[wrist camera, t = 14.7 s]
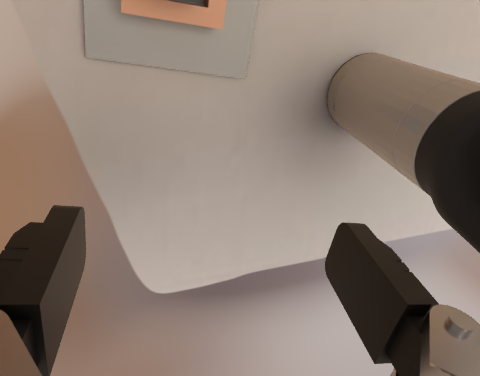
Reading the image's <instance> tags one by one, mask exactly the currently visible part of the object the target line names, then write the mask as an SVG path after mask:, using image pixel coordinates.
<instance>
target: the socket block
mask: <svg viewBox="0 0 480 376" xmlns="http://www.w3.org/2000/svg"><path fill="white" fill-rule="evenodd" d="M258 2H259V0H83V4H84V28H85V52H86V58H93V59H100V60H108V61H115V62H122V63H130V64H137V65H144V66H152V67H159V68H166V69H173V70H181V71H188V72H195V73H203V74H210V75H217V76H225V77H232V78H239V79H246V74H247V68H248V62H249V56H250V50H251V44H252V38H253V32H254V26H255V20H256V14H257V8H258Z"/></svg>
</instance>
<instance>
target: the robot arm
mask: <svg viewBox="0 0 480 376" xmlns="http://www.w3.org/2000/svg"><path fill="white" fill-rule="evenodd" d="M327 100H328V109H329V112H330V114H331V116H332V118H333V119H334V120H335V122H336V123H337V124H339V125H340V126H341V127H342V128H344V129H345V130H346V131H348V132H349V133H350V134H351V135H352V136H354V137H355V138H356V139H358V140H359V141H360V142H361V143H363V144H364V145H365V146H367V147H368V148H369V149H370V150H372V151H373V152H374V153H376V154H377V155H378V156H379V157H381V158H382V159H383V160H385V161H386V162H387V163H388V164H390V165H391V166H392V167H394V168H395V169H396V170H397V171H399V172H400V173H401V174H403V175H404V176H405V177H407V178H408V179H409V180H410V181H412V182H413V183H414V184H416V185H417V186H418V187H419V188H421V189H422V190H423V191H425V192H426V193H427V194H428V195H430V196H431V198H432V200H433V203H434V205H435V207H436V209H437V211H438V213H439V214H440V215H441V217H442V218H443V219H444V220H445V221H446V222H447V223H448V224H449V225H450V226H451V227H452V228H453V229H454V230H456V231H457V232H458V233H459V234H460V235H461V236H462V237H463V238H464V239H465V240H466V241H467V242H469V243H470V244H471V245H472V246H473V247H474V248H475V249H476V250H477V251H478V252H479V253H480V83H477V82H473V81H470V80H466V79H462V78H459V77H456V76H452V75H449V74H445V73H442V72H439V71H435V70H432V69H428V68H425V67H422V66H418V65H415V64H412V63H408V62H405V61H401V60H399V59H395V58H392V57H388V56H385V55H381V54H376V53H366V54H362V55H359V56H356V57H354V58H353V59H351V60H349V61H348V62H347V63H345V64H344V65H343V66H342V67H341V68H340V69H339V71H338V72H337V73H336V75H335V76H334V78H333V80H332V82H331V85H330V87H329V91H328V97H327ZM85 257H86V241H85V213H84V208H83V207H75V206H58V205H54V206H53V207H52V208H51V210H50V212H49V214H48V215H47V217H46V219H45V221H44V223H36V222H35V223H34V222H30V223H28V224H27V225H26V226H24V227H23V228H21V229H20V230H18V231H17V232H15V233H14V234H13V236H12V237H11V239H10V240H9V242H8V243H7V245H6V246H5V250H3V251H2V252H1V254H0V376H50V374H51V371H52V367H53V364H54V361H55V358H56V355H57V351H58V349H59V346H60V342H61V339H62V336H63V333H64V330H65V327H66V323H67V320H68V317H69V314H70V311H71V308H72V305H73V302H74V299H75V295H76V292H77V289H78V286H79V283H80V280H81V277H82V273H83V270H84V265H85ZM325 271H326V275H327V277H328V279H329V281H330V283H331V285H332V286H333V288H334V290H335V292H336V294H337V296H338V298H339V299H340V301H341V303H342V305H343V306H344V309H345V310H346V312H347V314H348V316H349V318H350V320H351V322H352V323H353V325H354V327H355V329H356V331H357V332H358V334H359V336H360V338H361V340H362V342H363V344H364V345H365V347H366V349H367V351H368V353H369V355H370V356H371V358H372V360H373V362H374V364H379V363H380V364H381V363H392V365H393V366H394V370H393V372H392V373H391V375H390V376H480V325H479V323H477V322H476V321H475V320H474V319H473V318H472V317H470V316H469V315H467V314H466V313H464V312H462V311H461V310H458V309H456V308H454V307H451V306H448V305H439V304H438V302H437V301H436V300H435V299H434V298H433V297H432V295H431V294H430V293H429V292H428V291H427V290H426V288H425V287H424V286H423V285H422V284H421V283H420V281H419V280H418V279H417V278H416V277H415V276H414V274H413V273H412V272H409V269H408V267H407V266H406V265H405V264H404V263H402V262H401V259H400V258H399V257H398V256H397V254H396V253H395V252H394V251H393V250H392V249H391V248H390V247H388V246H387V245H386V244H384V243H383V242H382V241H380V240H379V239H377V237H376V236H375V235H374V234H373V233H372V231H371V230H370V229H369V228H368V227H367V226H366V225H365V224H359V223H341V224H340V225H339V226H338V228H337V230H336V233H335V236H334V238H333V241H332V244H331V246H330V249H329V252H328V254H327V257H326V261H325Z"/></svg>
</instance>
